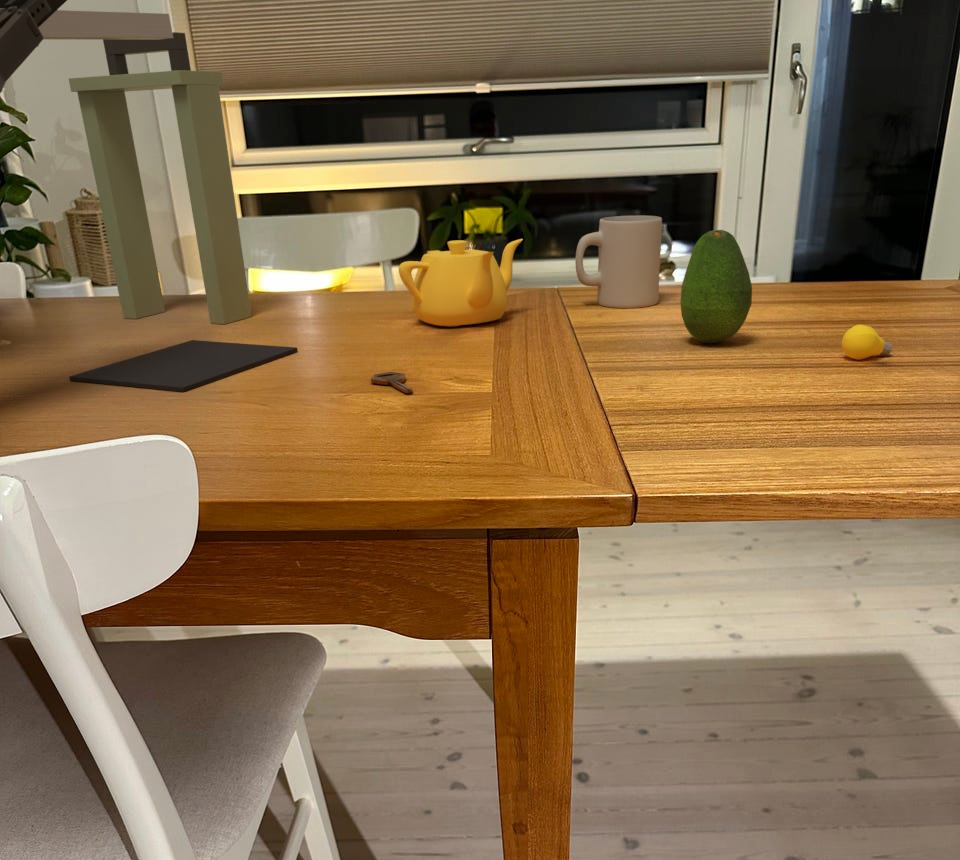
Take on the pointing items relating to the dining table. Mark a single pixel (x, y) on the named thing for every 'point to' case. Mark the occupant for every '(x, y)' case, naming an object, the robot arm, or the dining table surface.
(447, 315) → the teapot
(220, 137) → the stand
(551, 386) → the dining table surface
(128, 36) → the bar
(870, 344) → the light bulb
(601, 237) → the mug
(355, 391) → the dining table surface
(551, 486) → the dining table surface
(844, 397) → the dining table surface
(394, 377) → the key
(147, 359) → the mat
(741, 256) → the fruit
